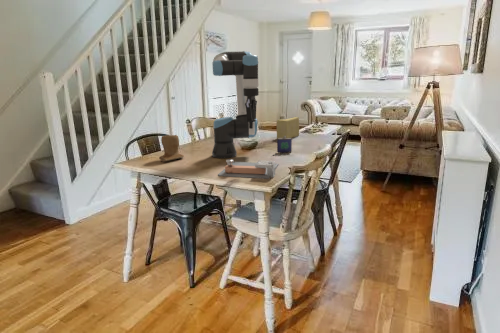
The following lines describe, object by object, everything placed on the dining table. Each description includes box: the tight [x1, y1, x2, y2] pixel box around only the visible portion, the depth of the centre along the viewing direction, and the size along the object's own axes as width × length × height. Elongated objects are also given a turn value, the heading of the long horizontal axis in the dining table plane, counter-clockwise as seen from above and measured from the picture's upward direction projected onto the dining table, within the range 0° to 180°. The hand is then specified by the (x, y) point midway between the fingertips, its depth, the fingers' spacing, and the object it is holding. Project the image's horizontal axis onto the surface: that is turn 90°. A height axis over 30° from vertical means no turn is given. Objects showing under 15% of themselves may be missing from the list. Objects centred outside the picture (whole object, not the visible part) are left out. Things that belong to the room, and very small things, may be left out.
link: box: [224, 165, 266, 174], centre depth 172 cm, size 21×5×3 cm, turn 78°
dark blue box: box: [276, 136, 293, 154], centre depth 216 cm, size 9×3×11 cm, turn 95°
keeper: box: [255, 159, 276, 178], centre depth 169 cm, size 9×8×6 cm
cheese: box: [276, 116, 300, 140], centre depth 265 cm, size 22×10×15 cm, turn 136°
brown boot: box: [158, 134, 185, 163], centre depth 204 cm, size 15×12×15 cm
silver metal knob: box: [225, 158, 235, 166], centre depth 173 cm, size 4×4×3 cm
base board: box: [217, 161, 280, 180], centre depth 180 cm, size 26×26×1 cm
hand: (251, 134), depth 177 cm, fingers closed
